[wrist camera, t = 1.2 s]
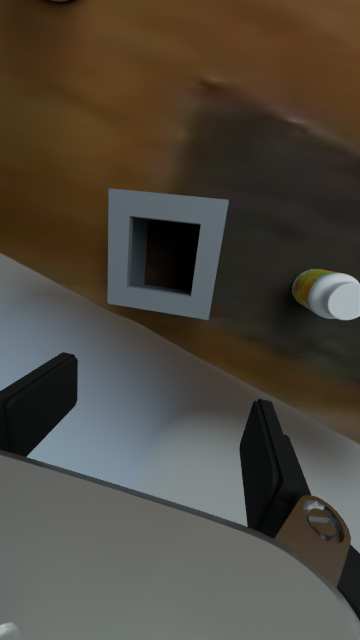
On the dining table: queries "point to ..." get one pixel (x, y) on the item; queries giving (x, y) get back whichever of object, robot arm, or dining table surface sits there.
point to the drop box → (131, 246)
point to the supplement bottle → (328, 294)
